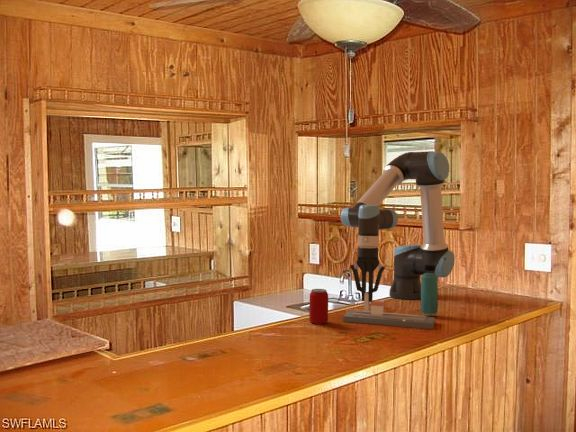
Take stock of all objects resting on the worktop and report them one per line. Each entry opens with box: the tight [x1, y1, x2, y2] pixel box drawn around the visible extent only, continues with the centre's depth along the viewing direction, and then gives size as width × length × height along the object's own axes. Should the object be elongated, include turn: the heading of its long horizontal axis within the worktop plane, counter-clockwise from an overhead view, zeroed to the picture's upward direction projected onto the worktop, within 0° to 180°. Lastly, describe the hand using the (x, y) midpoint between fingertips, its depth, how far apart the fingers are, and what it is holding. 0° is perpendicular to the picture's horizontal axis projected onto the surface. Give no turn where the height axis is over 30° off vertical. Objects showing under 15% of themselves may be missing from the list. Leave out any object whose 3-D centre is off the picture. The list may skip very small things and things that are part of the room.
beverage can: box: [308, 288, 329, 325], centre depth 222 cm, size 7×7×12 cm
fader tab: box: [370, 299, 385, 315], centre depth 225 cm, size 3×4×5 cm
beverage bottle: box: [420, 265, 439, 315], centre depth 234 cm, size 6×7×20 cm
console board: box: [342, 310, 436, 330], centre depth 224 cm, size 10×32×3 cm, turn 72°
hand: (366, 310), depth 227 cm, fingers closed
